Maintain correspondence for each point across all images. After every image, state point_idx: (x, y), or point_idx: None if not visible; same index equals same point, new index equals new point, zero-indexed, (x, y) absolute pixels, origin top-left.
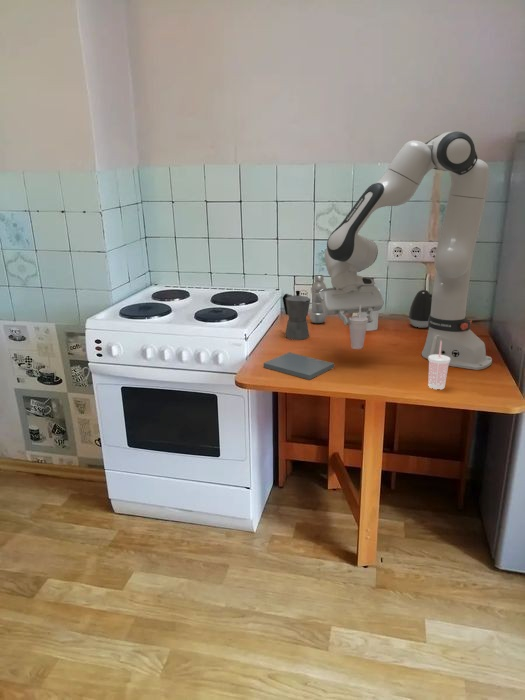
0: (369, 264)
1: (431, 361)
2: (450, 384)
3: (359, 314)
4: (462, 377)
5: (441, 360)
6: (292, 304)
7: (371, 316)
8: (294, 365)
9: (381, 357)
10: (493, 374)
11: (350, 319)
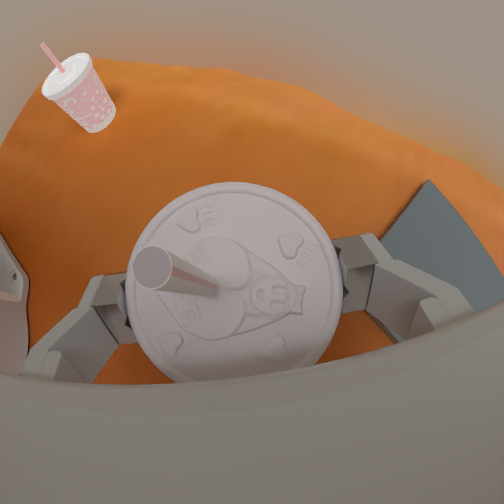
0: None
1: (91, 62)
2: (68, 132)
3: (209, 277)
4: (27, 175)
5: (74, 59)
6: None
7: (83, 296)
8: (464, 272)
9: (130, 371)
10: None
11: (329, 254)
